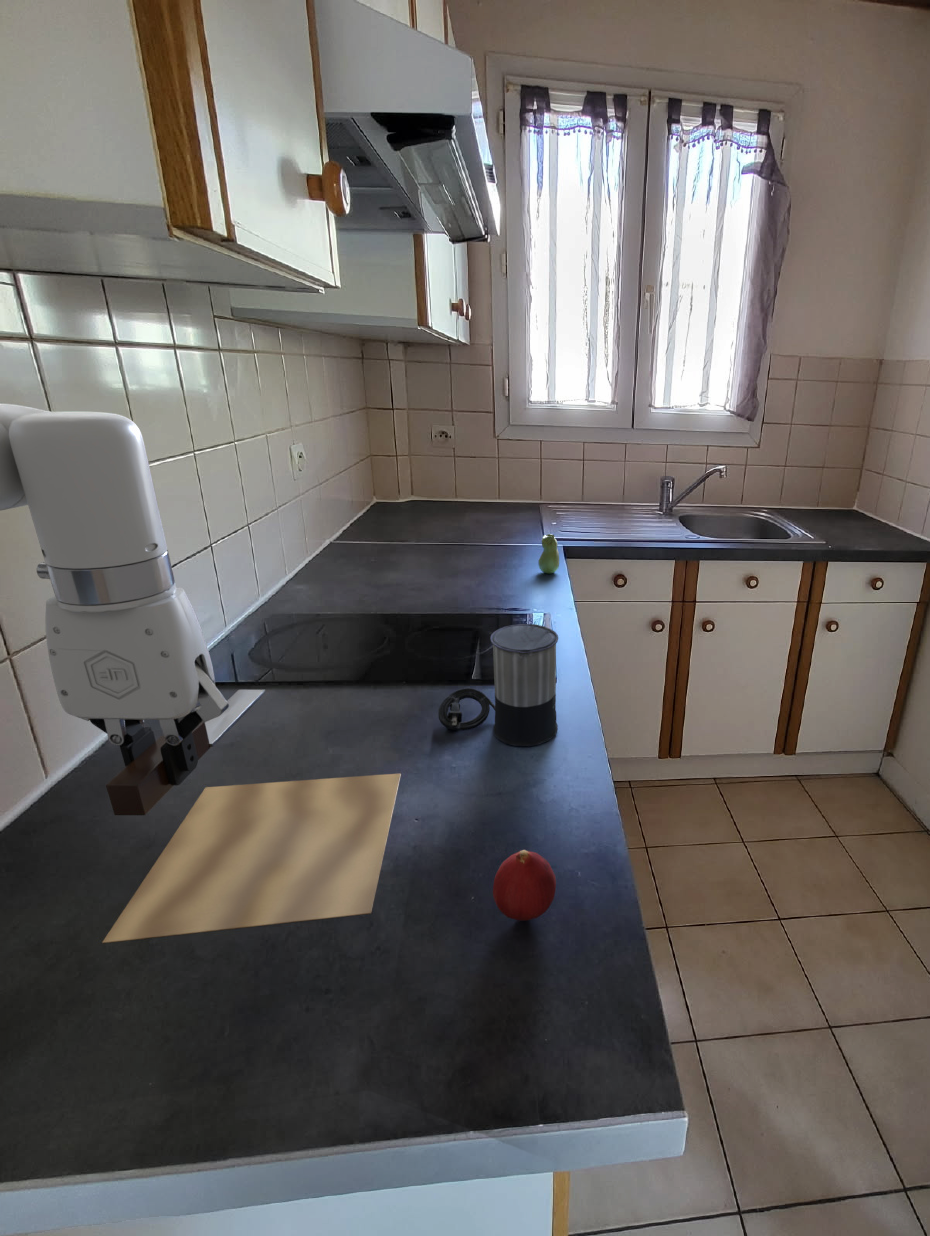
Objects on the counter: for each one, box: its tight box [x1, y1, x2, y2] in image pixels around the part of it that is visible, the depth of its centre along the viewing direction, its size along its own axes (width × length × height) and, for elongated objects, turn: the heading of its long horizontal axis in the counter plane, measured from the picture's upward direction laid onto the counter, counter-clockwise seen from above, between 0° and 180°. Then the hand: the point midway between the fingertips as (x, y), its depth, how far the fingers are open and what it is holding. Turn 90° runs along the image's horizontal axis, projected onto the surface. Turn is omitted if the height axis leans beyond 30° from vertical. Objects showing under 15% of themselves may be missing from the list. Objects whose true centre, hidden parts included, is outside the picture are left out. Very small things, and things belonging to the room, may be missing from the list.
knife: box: [105, 689, 266, 816], centre depth 61 cm, size 21×3×3 cm, turn 3°
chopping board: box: [101, 772, 402, 944], centre depth 67 cm, size 22×22×2 cm
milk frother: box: [438, 623, 559, 747], centre depth 90 cm, size 14×16×15 cm
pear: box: [537, 533, 560, 574], centre depth 160 cm, size 6×5×10 cm
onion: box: [492, 849, 557, 921], centre depth 60 cm, size 6×6×8 cm
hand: (165, 774), depth 56 cm, fingers closed on knife, 2 cm apart
